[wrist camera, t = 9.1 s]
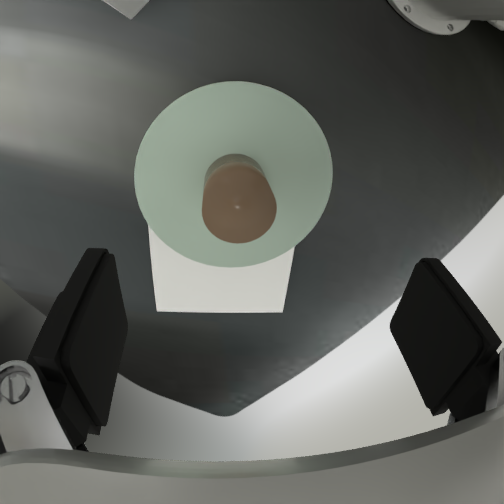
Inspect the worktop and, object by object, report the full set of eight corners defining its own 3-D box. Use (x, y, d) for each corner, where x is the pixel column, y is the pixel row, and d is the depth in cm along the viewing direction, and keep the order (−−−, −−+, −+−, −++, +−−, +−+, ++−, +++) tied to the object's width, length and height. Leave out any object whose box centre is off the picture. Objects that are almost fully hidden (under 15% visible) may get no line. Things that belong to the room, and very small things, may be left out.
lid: (339, 91, 17) (376, 101, 13) (312, 259, 24) (332, 304, 19) (136, 82, 16) (109, 86, 12) (145, 258, 22) (131, 305, 18)
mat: (302, 193, 31) (303, 194, 31) (281, 309, 39) (282, 312, 39) (147, 188, 29) (146, 190, 29) (157, 308, 37) (157, 311, 37)
